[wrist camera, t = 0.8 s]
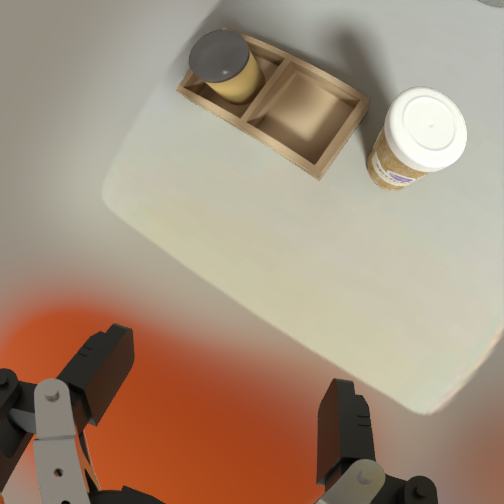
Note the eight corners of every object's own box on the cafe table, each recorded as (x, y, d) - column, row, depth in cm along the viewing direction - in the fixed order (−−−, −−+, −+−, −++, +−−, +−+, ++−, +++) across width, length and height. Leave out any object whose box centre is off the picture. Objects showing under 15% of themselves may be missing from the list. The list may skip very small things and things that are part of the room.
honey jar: (221, 64, 29) (193, 33, 22) (268, 62, 27) (249, 27, 21) (215, 107, 29) (184, 82, 23) (264, 106, 28) (243, 77, 22)
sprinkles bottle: (368, 191, 27) (393, 166, 14) (364, 142, 26) (383, 81, 14) (416, 191, 26) (474, 169, 13) (412, 142, 25) (461, 87, 12)
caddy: (191, 101, 30) (175, 90, 27) (234, 42, 29) (223, 26, 25) (319, 181, 28) (316, 175, 25) (367, 111, 26) (370, 98, 23)
